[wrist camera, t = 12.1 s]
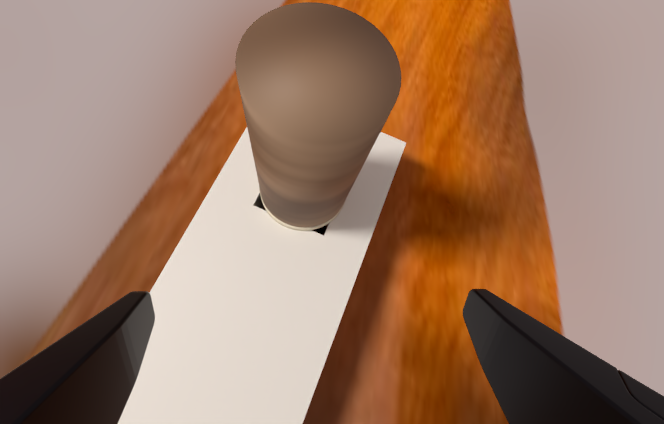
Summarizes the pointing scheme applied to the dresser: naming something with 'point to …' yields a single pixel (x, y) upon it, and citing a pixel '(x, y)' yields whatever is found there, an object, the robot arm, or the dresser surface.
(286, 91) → the peg
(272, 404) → the board
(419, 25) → the dresser surface
